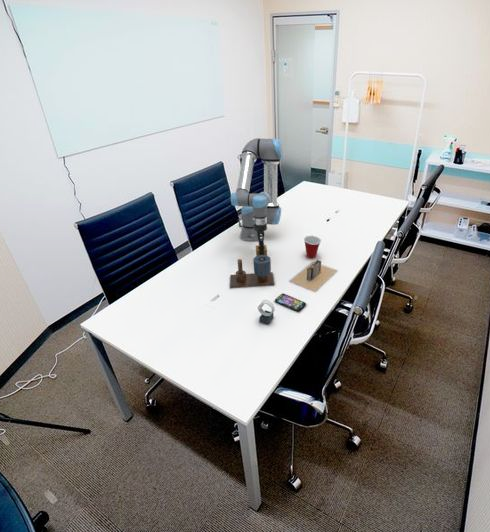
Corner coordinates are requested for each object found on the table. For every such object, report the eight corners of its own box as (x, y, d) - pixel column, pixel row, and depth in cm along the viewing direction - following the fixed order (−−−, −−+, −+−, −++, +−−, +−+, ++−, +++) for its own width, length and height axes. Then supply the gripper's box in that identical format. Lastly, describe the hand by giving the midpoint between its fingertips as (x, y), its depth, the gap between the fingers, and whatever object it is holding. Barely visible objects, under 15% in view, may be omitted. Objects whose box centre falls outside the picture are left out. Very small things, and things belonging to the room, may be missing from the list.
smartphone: (298, 311, 163) (273, 300, 171) (298, 312, 164) (273, 301, 171) (306, 302, 169) (282, 292, 176) (306, 304, 169) (282, 294, 177)
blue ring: (250, 270, 185) (250, 258, 181) (263, 265, 190) (263, 253, 186) (260, 277, 179) (260, 265, 175) (274, 271, 184) (273, 259, 180)
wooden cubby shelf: (256, 258, 205) (255, 245, 200) (266, 257, 206) (266, 244, 201) (256, 263, 200) (256, 250, 195) (267, 263, 200) (266, 250, 196)
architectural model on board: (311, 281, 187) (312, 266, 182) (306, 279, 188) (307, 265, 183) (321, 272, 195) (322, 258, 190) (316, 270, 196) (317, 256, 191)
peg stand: (230, 288, 181) (228, 266, 174) (230, 276, 190) (228, 255, 183) (274, 285, 184) (273, 263, 176) (272, 274, 193) (272, 253, 186)
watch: (261, 313, 163) (261, 296, 157) (276, 318, 160) (276, 300, 154) (256, 320, 159) (255, 302, 153) (271, 325, 156) (270, 307, 150)
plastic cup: (319, 261, 206) (320, 244, 199) (301, 259, 207) (302, 242, 201) (321, 252, 215) (322, 236, 208) (304, 251, 216) (305, 234, 210)
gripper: (253, 216, 197) (254, 250, 209) (254, 230, 181) (256, 266, 193) (265, 216, 198) (266, 249, 210) (268, 230, 182) (269, 266, 194)
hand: (261, 257), depth 202 cm, fingers closed on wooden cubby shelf, 6 cm apart
